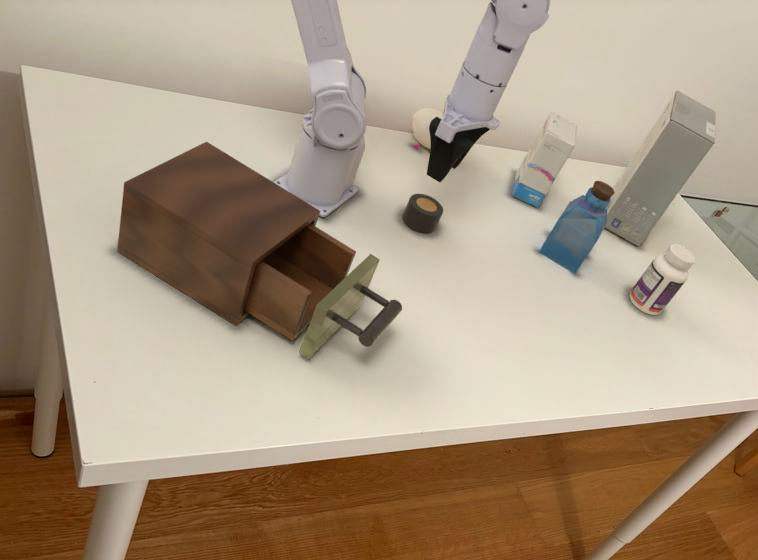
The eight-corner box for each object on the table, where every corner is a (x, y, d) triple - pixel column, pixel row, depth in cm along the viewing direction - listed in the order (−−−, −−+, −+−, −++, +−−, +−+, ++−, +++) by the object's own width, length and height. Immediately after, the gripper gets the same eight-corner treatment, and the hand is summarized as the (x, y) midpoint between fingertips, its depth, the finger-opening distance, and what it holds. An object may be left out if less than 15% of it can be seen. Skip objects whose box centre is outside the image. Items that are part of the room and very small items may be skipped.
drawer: (397, 327, 80) (418, 282, 76) (349, 384, 72) (370, 338, 67) (260, 243, 82) (273, 194, 77) (196, 289, 73) (207, 237, 69)
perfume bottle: (585, 256, 109) (628, 191, 101) (575, 274, 104) (619, 207, 97) (550, 234, 110) (590, 168, 102) (538, 251, 105) (579, 184, 97)
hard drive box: (639, 249, 117) (715, 143, 104) (597, 226, 117) (668, 118, 104) (648, 209, 129) (717, 110, 116) (610, 189, 129) (675, 87, 116)
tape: (410, 206, 100) (418, 189, 98) (440, 224, 100) (448, 207, 98) (396, 220, 97) (404, 201, 95) (426, 238, 96) (435, 220, 94)
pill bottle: (661, 302, 108) (700, 253, 102) (659, 321, 104) (700, 271, 98) (629, 285, 108) (667, 234, 102) (626, 304, 104) (664, 252, 98)
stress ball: (441, 173, 117) (469, 141, 116) (428, 157, 109) (457, 123, 108) (409, 145, 118) (436, 113, 118) (393, 127, 111) (422, 93, 110)
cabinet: (300, 271, 82) (320, 210, 77) (235, 326, 73) (253, 262, 67) (194, 205, 83) (206, 141, 78) (116, 251, 74) (123, 182, 68)
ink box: (539, 209, 114) (576, 145, 106) (510, 196, 113) (546, 130, 105) (543, 185, 120) (578, 122, 112) (516, 172, 120) (549, 108, 112)
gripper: (495, 107, 78) (447, 208, 87) (532, 75, 89) (486, 168, 98) (439, 75, 79) (398, 178, 88) (483, 47, 90) (442, 141, 98)
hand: (441, 171), depth 93 cm, fingers open, 4 cm apart
